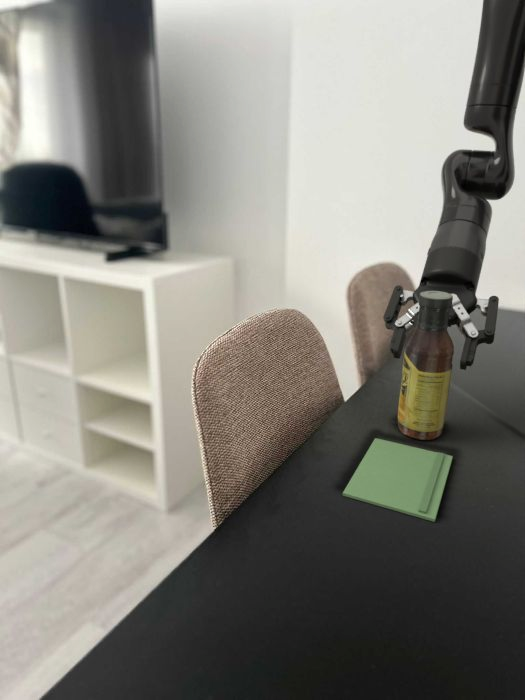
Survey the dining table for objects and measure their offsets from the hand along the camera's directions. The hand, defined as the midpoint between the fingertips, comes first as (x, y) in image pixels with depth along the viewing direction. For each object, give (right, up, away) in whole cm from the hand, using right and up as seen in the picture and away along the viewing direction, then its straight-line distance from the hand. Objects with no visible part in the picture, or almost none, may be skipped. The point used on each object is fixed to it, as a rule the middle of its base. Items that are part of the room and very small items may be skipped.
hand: (428, 361), depth 67 cm
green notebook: (-5, -14, -6) cm, 16 cm away
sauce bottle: (0, -10, +5) cm, 11 cm away
